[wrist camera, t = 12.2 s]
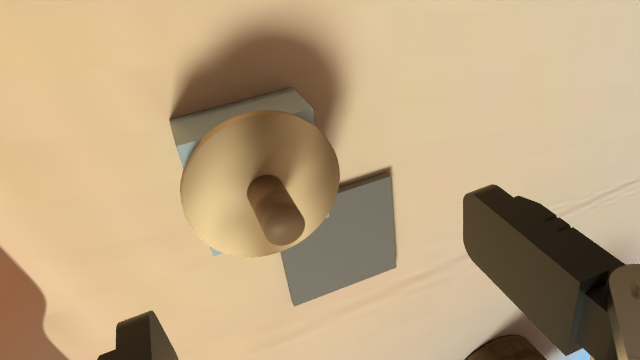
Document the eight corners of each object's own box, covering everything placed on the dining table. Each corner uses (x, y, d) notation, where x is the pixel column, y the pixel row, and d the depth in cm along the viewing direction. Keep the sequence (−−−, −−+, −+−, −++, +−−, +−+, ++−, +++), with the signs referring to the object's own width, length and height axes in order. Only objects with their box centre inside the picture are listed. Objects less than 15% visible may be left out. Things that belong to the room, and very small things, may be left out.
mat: (387, 172, 46) (390, 176, 45) (392, 263, 53) (396, 267, 52) (270, 210, 43) (273, 214, 43) (291, 301, 50) (294, 306, 49)
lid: (324, 91, 34) (360, 121, 29) (342, 222, 40) (373, 264, 36) (157, 136, 31) (165, 178, 26) (204, 269, 38) (218, 322, 33)
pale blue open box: (292, 87, 38) (312, 108, 34) (309, 188, 44) (329, 216, 40) (169, 119, 36) (176, 146, 32) (203, 222, 41) (213, 256, 37)
